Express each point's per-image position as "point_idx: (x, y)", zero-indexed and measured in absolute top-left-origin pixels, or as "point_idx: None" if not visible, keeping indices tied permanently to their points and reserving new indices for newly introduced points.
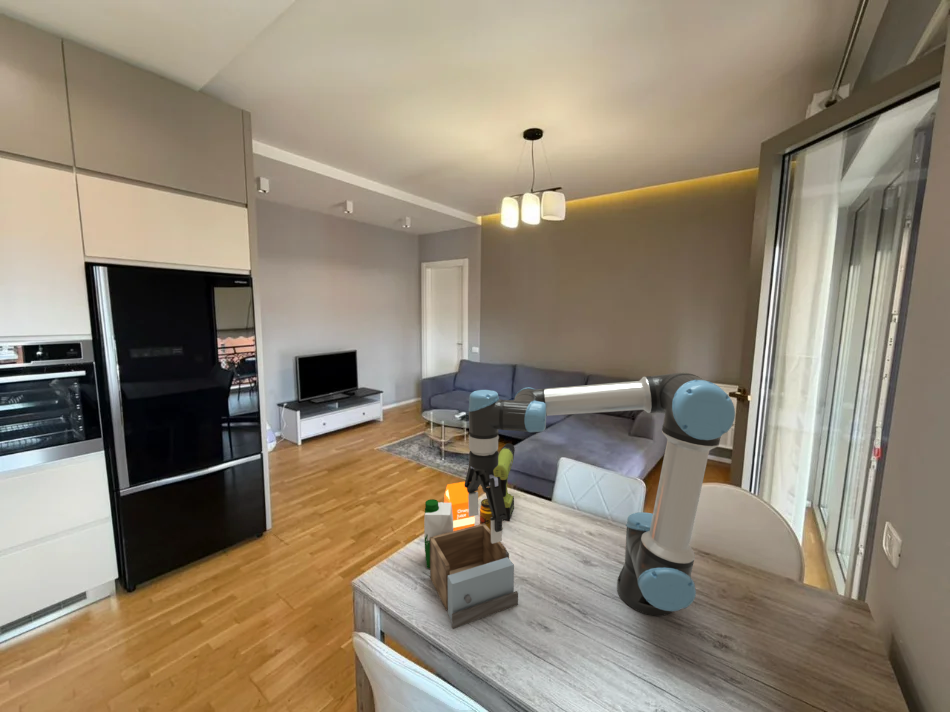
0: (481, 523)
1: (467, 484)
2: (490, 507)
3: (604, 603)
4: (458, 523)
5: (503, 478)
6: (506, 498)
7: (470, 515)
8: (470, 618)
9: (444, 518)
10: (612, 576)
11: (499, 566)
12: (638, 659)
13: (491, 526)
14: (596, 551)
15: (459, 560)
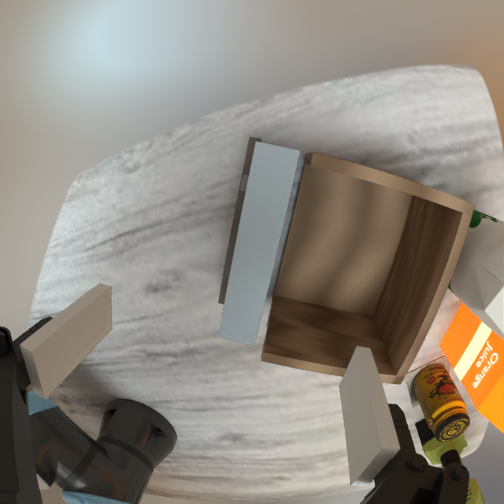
0: (445, 381)
1: (436, 495)
2: (3, 394)
3: (151, 387)
4: (480, 337)
5: None
6: (437, 455)
7: (355, 354)
8: None
9: (491, 286)
10: (188, 433)
11: (235, 304)
12: None
13: (56, 323)
14: (243, 459)
15: (400, 266)
